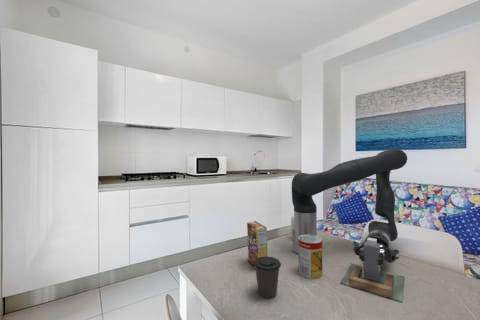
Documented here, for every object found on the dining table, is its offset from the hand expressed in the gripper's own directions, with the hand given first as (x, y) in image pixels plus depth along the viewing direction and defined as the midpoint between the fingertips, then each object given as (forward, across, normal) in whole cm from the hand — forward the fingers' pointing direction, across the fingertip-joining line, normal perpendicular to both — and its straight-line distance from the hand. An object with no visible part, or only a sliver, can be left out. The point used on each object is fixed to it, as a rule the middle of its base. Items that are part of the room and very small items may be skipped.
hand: (370, 260), depth 69 cm
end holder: (-6, 0, +8) cm, 10 cm away
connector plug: (-3, 0, +6) cm, 7 cm away
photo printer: (-28, -34, +9) cm, 45 cm away
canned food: (+2, -18, +9) cm, 20 cm away
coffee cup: (+21, -24, +8) cm, 33 cm away
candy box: (+8, -36, +9) cm, 38 cm away
